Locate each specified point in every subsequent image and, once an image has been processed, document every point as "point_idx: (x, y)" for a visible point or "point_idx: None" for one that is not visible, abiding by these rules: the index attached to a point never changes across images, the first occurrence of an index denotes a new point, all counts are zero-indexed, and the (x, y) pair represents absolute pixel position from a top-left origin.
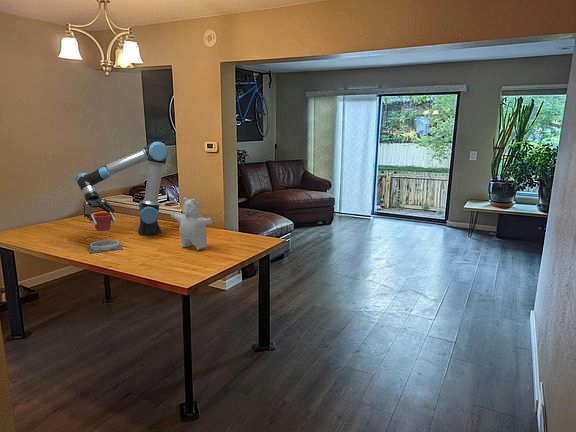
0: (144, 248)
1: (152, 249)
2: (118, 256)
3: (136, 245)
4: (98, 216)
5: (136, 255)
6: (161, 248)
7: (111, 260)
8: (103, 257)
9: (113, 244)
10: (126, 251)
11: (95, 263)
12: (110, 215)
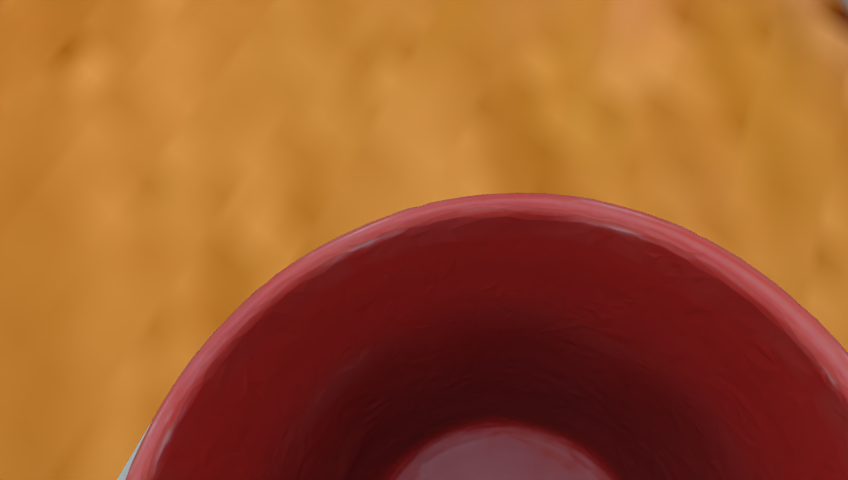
0: (143, 175)
1: (113, 89)
2: (509, 79)
3: (119, 363)
4: (748, 266)
5: (352, 7)
6: (29, 66)
7: (618, 5)
8: (657, 141)
9: None
10: (354, 194)
11: (785, 9)
12: (285, 275)
